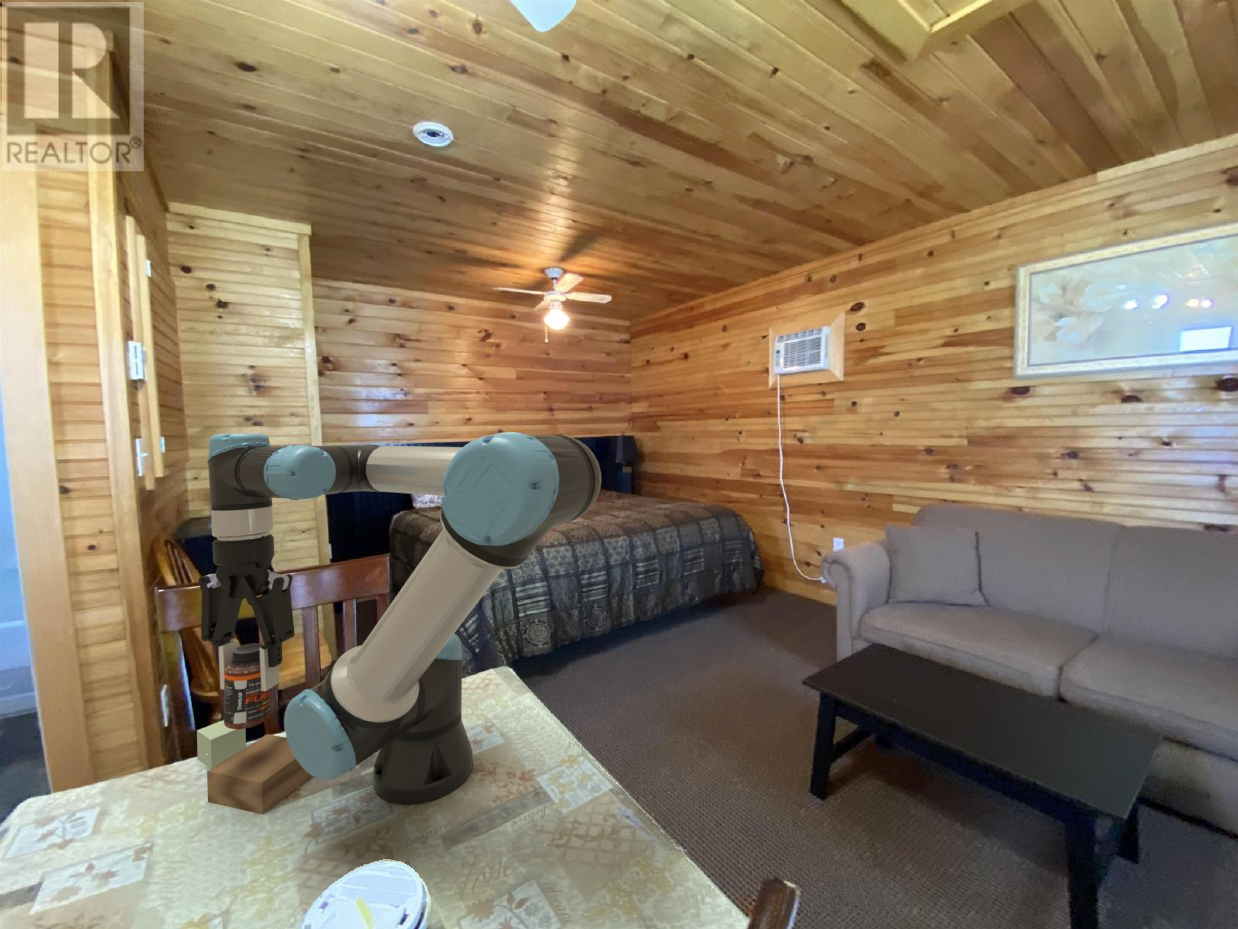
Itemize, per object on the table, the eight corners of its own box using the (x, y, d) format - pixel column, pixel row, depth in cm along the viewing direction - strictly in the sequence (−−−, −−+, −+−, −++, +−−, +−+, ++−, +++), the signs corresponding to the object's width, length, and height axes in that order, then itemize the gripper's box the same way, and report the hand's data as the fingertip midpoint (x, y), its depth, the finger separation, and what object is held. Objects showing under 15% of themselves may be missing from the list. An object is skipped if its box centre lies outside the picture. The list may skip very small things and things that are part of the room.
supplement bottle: (248, 733, 76) (248, 657, 75) (213, 729, 77) (213, 653, 76) (281, 713, 82) (281, 642, 81) (248, 708, 83) (248, 638, 82)
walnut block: (317, 773, 85) (317, 743, 84) (262, 816, 75) (261, 783, 75) (267, 763, 87) (267, 734, 87) (207, 803, 77) (207, 771, 77)
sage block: (245, 753, 89) (245, 725, 89) (211, 769, 85) (210, 739, 84) (231, 744, 92) (231, 717, 91) (197, 759, 87) (196, 730, 87)
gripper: (319, 531, 81) (324, 677, 82) (208, 531, 83) (215, 673, 84) (283, 540, 74) (289, 700, 75) (162, 540, 76) (170, 695, 77)
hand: (250, 685), depth 79 cm, fingers closed on supplement bottle, 6 cm apart
